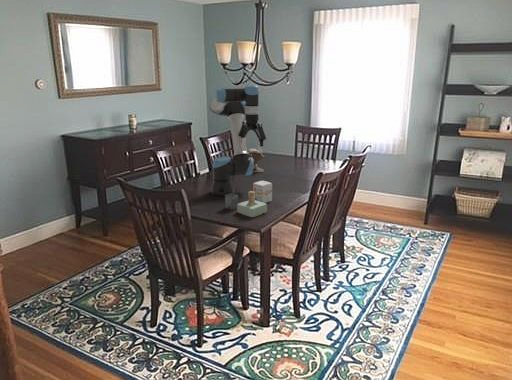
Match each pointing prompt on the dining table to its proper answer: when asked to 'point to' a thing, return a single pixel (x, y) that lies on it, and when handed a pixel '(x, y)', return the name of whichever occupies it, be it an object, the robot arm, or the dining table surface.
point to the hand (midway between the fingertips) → (252, 150)
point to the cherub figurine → (256, 159)
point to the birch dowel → (251, 198)
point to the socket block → (252, 208)
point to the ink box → (263, 191)
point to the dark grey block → (231, 201)
